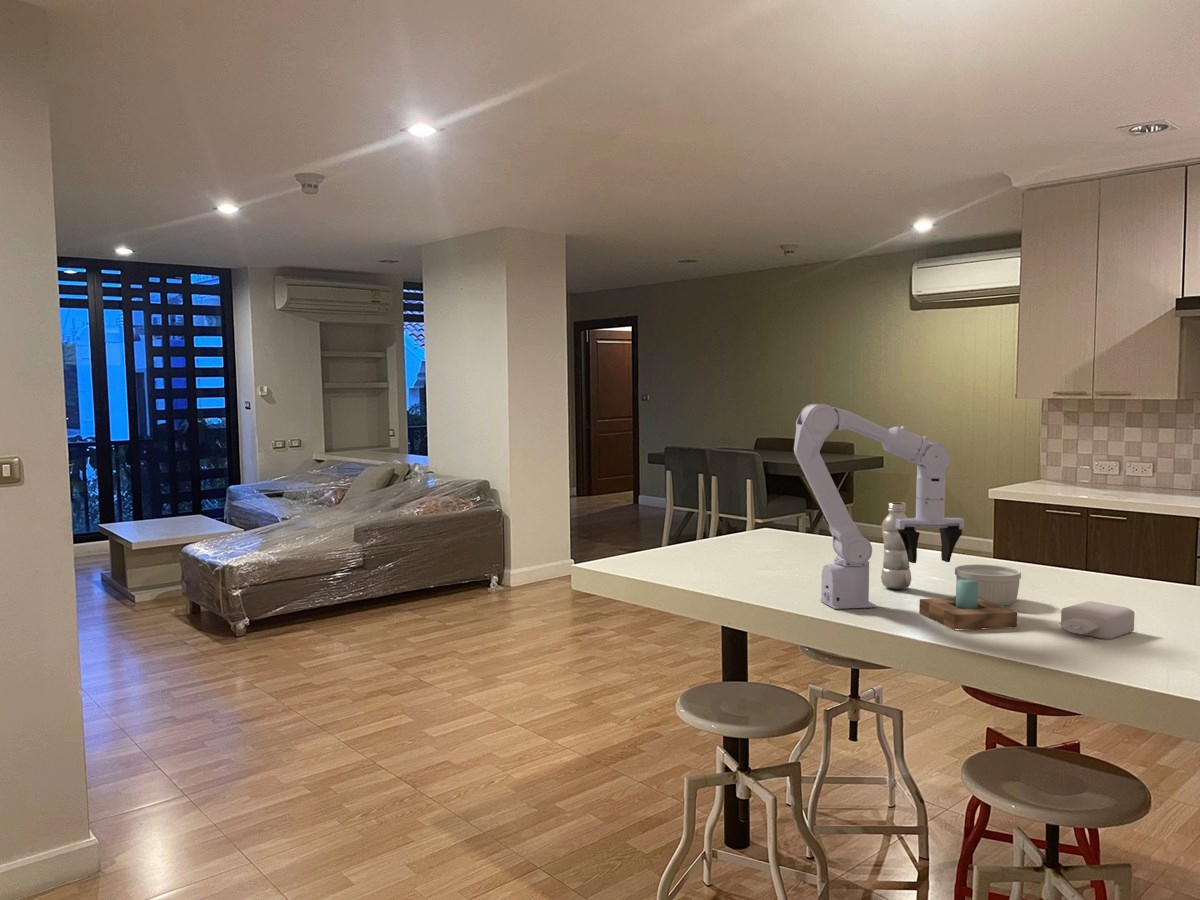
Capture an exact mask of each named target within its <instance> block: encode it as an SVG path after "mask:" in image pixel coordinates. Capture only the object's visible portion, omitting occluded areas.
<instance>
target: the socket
mask: <svg viewBox="0 0 1200 900" xmlns="http://www.w3.org/2000/svg"><path fill="white" fill-rule="evenodd" d="M918 606H919V607H918V608H919V610H918V611H919V612H918V613H920V615H921V614H922V616H924V617H925V618H928V619H930V620H932V621H934V622H936V621H937V622H936V623H938V622H939V623H938V624H940V623H941V625H942V624H943V626H944V625H945V626H944V627H946V626H947V627H946V628H948V627H950V628H949V629H951V628H952V629H951V630H953V629H954V630H953V631H956V630H955V629H973V630H983V629H982V628H986V629H985V630H988V629H987V628H995V629H1010V628H1011V627H1017V628H1018V611H1015V610H1013V609H1010V608H1007V607H1005V606H1000V605H998V604H995V603H993V602H990V601H987V600H985V599H982V598H980V597H978V609H960V608H957V607H956V597H941V598H940V597H939V598H919V605H918ZM1009 627H1010V628H1009ZM1011 629H1012V628H1011Z"/></svg>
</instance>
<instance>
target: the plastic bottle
mask: <svg viewBox="0 0 1200 900" xmlns="http://www.w3.org/2000/svg"><path fill="white" fill-rule="evenodd" d="M906 505H907V504H906V503H905V502H896V501H895V502H888V509H887V511H888V512H889V513H888V514H887V515H886V517H885V518H884V519H883V520H882V521H881V522H882V523H881V531H882V532H881V533H882V539H883V563H882V569H881V574H880V580H881V584H882V585H883V587H885V588H889V589H893V590H902V589H908V588H909V586H911V582H912V574H911V573H912V572H911V569H910V562H909V561H908V556H907V552H906V548H905V545H904V543H903V540H902V538H901V536H900V534H899V533H898V529H897V528H896V519H907V518H908V516H907V515H906V514H905V513H906V512H907V509H906V508H907V507H906Z"/></svg>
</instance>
